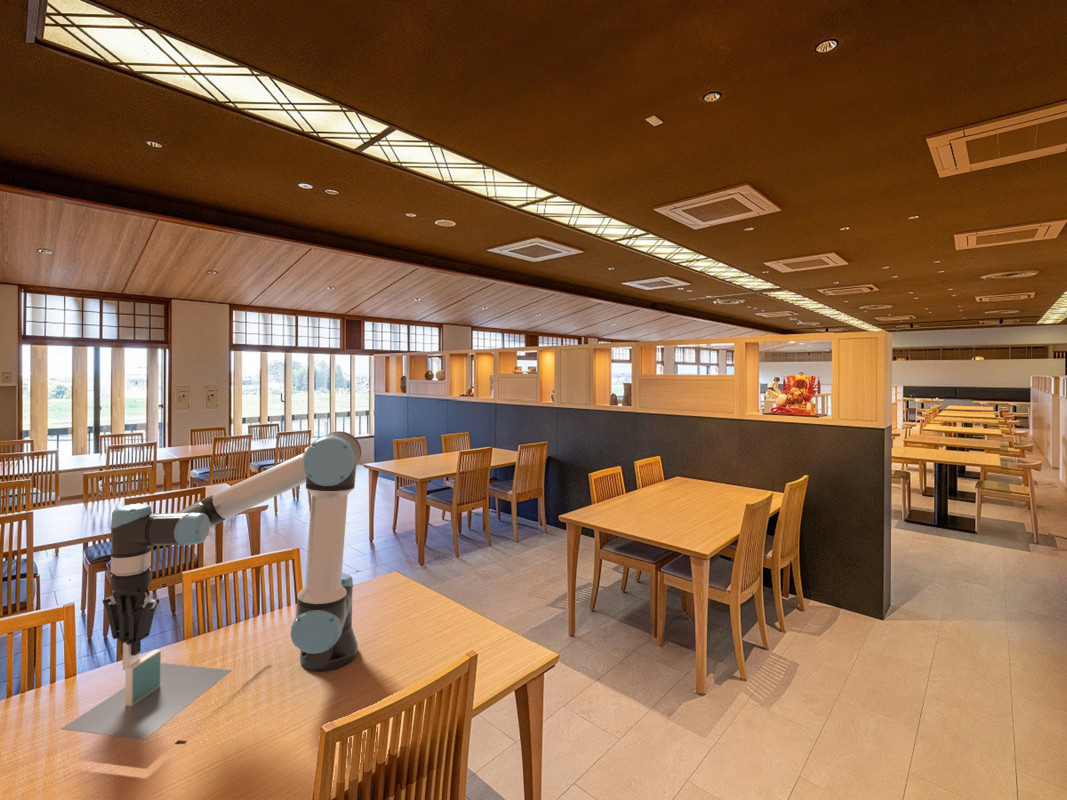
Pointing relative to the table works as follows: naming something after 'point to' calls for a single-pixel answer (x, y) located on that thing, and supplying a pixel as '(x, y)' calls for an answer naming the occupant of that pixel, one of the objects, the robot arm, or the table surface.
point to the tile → (142, 677)
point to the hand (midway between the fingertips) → (130, 667)
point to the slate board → (149, 703)
